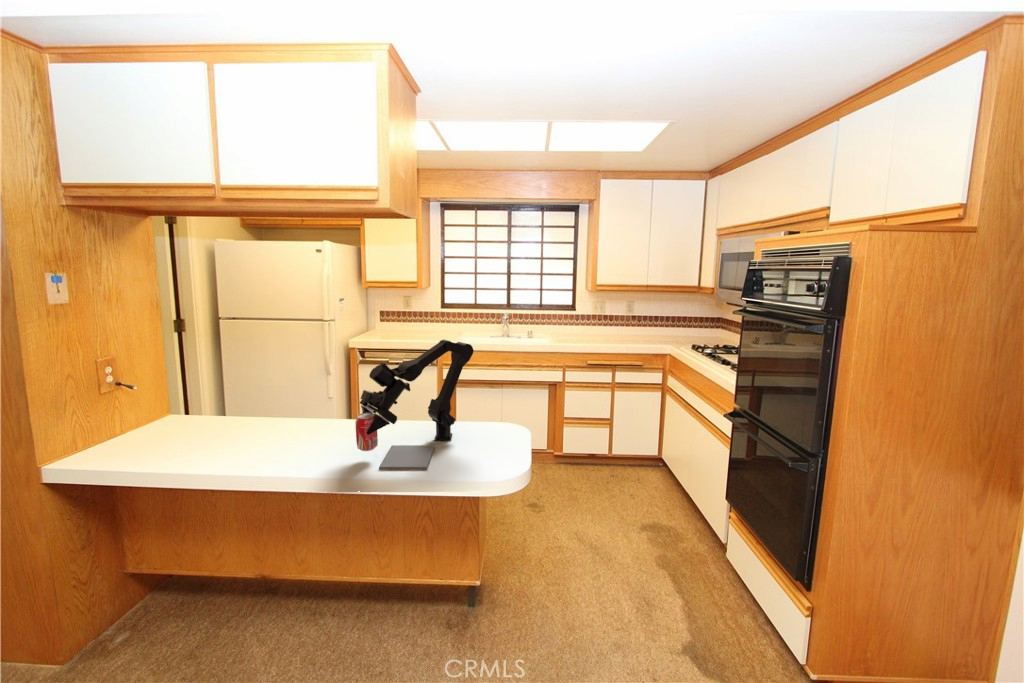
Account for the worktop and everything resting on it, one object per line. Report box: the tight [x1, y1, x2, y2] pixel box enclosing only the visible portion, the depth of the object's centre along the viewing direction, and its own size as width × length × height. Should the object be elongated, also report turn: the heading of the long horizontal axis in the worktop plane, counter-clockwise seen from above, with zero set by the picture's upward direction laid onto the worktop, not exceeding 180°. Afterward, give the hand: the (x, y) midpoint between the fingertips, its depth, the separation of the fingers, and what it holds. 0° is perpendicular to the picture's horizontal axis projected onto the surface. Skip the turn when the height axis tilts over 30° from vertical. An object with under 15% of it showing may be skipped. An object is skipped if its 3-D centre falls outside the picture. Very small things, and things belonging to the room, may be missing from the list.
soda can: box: [355, 413, 379, 452], centre depth 156 cm, size 7×7×12 cm
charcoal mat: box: [378, 444, 436, 471], centre depth 159 cm, size 18×16×1 cm
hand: (362, 431), depth 155 cm, fingers closed on soda can, 7 cm apart
